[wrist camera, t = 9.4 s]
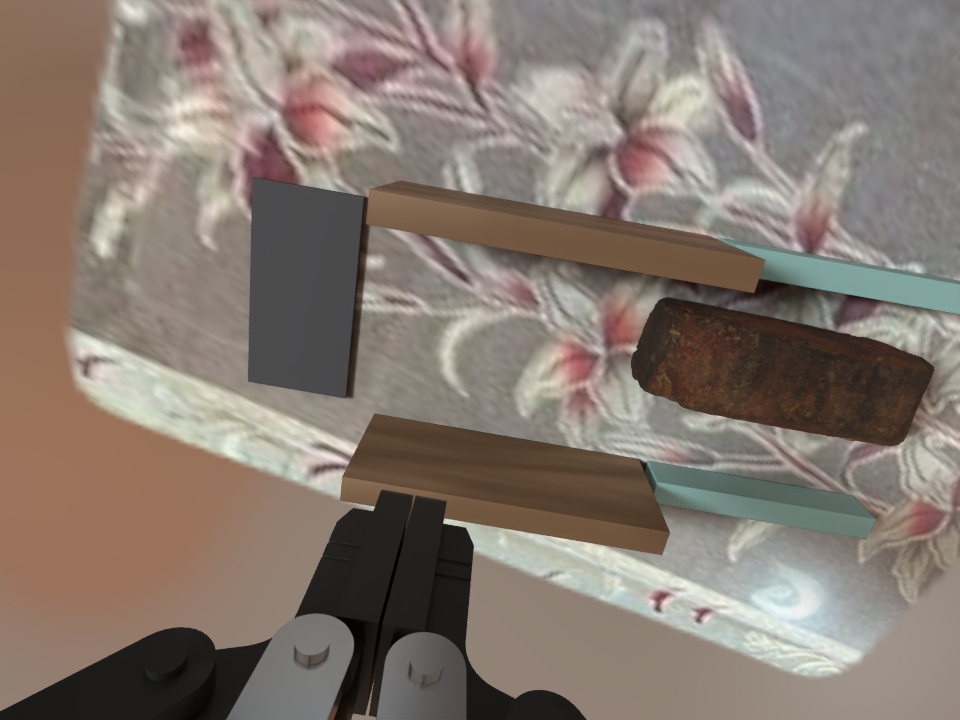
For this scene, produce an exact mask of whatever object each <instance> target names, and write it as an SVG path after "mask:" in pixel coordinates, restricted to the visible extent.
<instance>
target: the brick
mask: <svg viewBox="0 0 960 720" xmlns="http://www.w3.org/2000/svg"><path fill="white" fill-rule="evenodd" d="M631 368H632V376H633V378H634V379H635V380H638V382H639V385H640V387H641V388H642V389H643V390H644V391H646V392H648V393H650V394H653V395H657V396H662V397H665V398H667V399H669V400H672V401H674V402H677V403H679V405H680V406H682V407H683V408H686V409H690V410H693V411H697V412H703V413H706V414H710V415H718V416H723V417H727V418H732V419H736V420H743V421H749V422H754V423H759V424H765V425H770V426H776V427H781V428H786V429H792V430H798V431H803V432H808V433H814V434H821V435H826V436H832V437H840V438H844V439H846V440H850V441H860V442H866V443H872V444H877V445H881V446H894V445H899V444H900V443H901V442H903V441H904V440H905V438H906V436H907V433H908V431H909V428H910V426H911V423H912V420H913V418H914V415H915V413H916V410H917V408H918V405H919V403H920V401H921V399H922V397H923V394H924V392H925V390H926V388H927V386H928V383H929V381H930V379H931V376H932V374H933V372H934V367H933V366H932V365H931V364H930V363H929V362H927V361H926V360H925V359H923V358H922V357H919V356H916V355H912V354H910V353H907V352H905V351H901V350H899V349H897V348H895V347H893V346H890V345H888V344H885V343H882V342H879V341H876V340H872V339H869V338H865V337H856V336H851V335H850V334H843V333H837V332H834V331H831V330H826V329H821V328H817V327H813V326H808V325H803V324H798V323H793V322H788V321H784V320H780V319H775V318H769V317H764V316H759V315H753V314H748V313H744V312H739V311H734V310H728V309H723V308H719V307H715V306H709V305H705V304H701V303H695V302H689V301H683V300H679V299H674V298H669V297H666V298H663V299H660V300H659V301H658V302H657V304H656V305H655V308H654V309H653V311H652V312H651V313H650V314H649V318H648V319H647V322H646V324H645V327H644V329H643V332H642V335H641V337H640V339H639V341H638V345H637V350H636V351H635V352H634V353H633V356H632V360H631Z"/></svg>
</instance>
